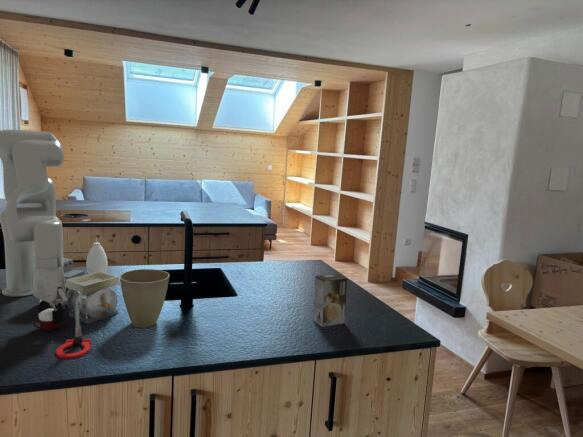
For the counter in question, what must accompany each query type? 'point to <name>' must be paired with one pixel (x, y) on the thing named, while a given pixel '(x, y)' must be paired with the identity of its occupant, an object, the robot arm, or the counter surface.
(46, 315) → the cocoa
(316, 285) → the coffee box
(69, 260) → the circuit breaker
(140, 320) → the plant pot
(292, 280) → the counter surface
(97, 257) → the sauce bottle
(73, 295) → the clear storage container
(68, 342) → the tow hook
